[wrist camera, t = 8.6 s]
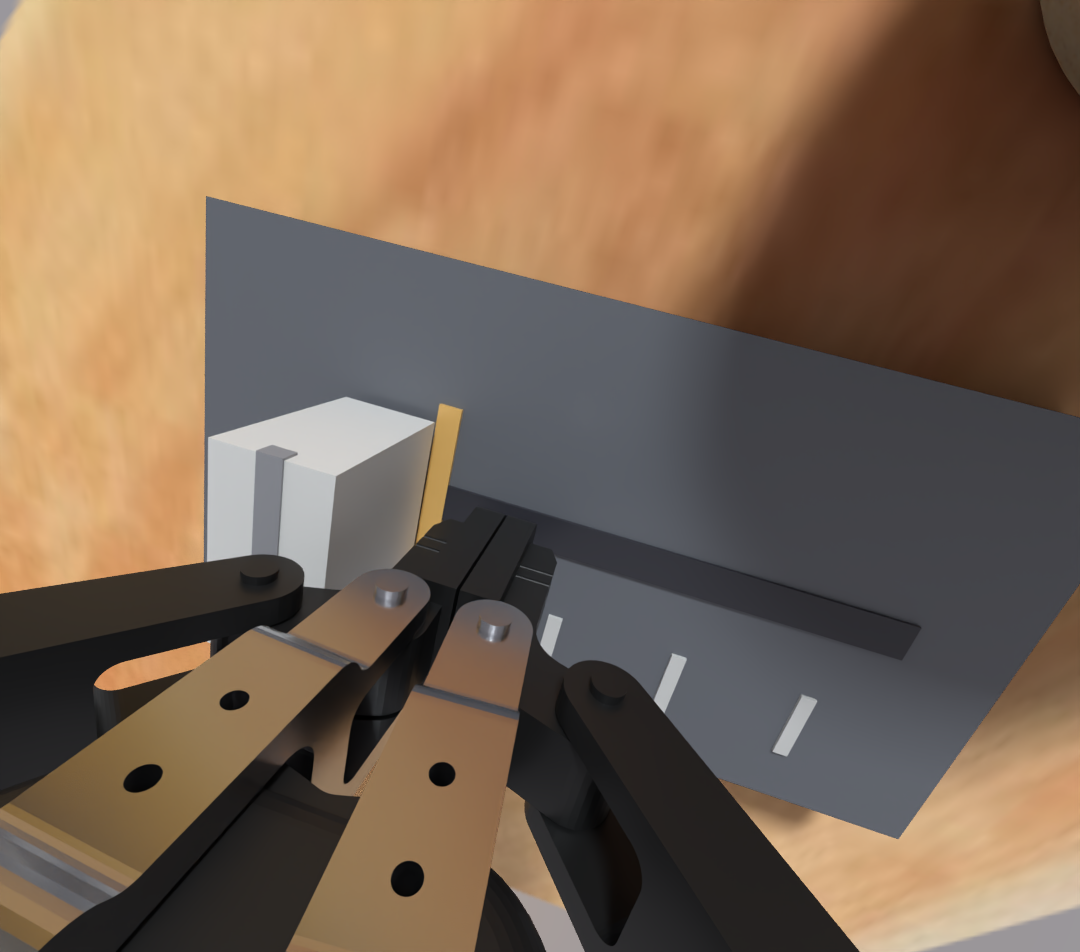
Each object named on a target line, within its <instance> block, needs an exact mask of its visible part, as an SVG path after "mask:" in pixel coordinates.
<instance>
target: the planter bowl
mask: <svg viewBox="0 0 1080 952" xmlns="http://www.w3.org/2000/svg"><path fill="white" fill-rule="evenodd" d="M1040 5H1041V10H1042V15H1043V20H1044V25H1045V29H1046V32H1047V36H1048V39H1049V43H1050V46H1051V48H1052V50H1053V52H1054V54H1055V56H1056V58H1057V60H1058V62H1059V64H1060V66H1061V69H1062V71H1063V72H1064V74H1065V75H1066V77H1067V78H1068V80H1069V81H1070V83H1071V84H1072V86H1073V87H1074V88H1075V90H1076V91H1077V92H1078V94H1079V95H1080V0H1040Z"/></svg>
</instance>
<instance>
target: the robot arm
mask: <svg viewBox="0 0 1080 952" xmlns="http://www.w3.org/2000/svg"><path fill="white" fill-rule="evenodd" d="M536 528H537V524H535V523H532V522H529V521H526V520H522V519H519V518H516V517H512V516H509V515H508V516H506V515H505V514H502V513H499V512H495V511H492V510H489V509H485V508H482V507H479V506H477V507H476V508H475V509H474V510H473V511H472V513H471V514H470V515H469V516H468V518H467V519H466V520H465V521H464V522H459V521H456V520H453V519H448V520H446V521H443V522H440V523H437V524H435V525H433V526H432V527H431V528H430V529H429V530H428V531H427V533H426V534H425V535H424V537H422V538H421V539H420V540H419V541H418V542H417V543H416V546H415V545H414V546H413V547H412V548H411V549H410V550H409V551H408V552H407V553H406V554H405V555H404V557H403V558H402V559H401V560H400V561H399V562H398V563H397V564H396V565H395V566H394V567H393V568H392V569H378V570H372V571H369V572H366V573H364V574H362V575H360V576H359V577H357V578H356V579H355V580H353V581H352V582H351V583H350V584H348V585H347V586H346V587H345V588H343V589H342V590H335V589H324V588H314V587H304V577H305V575H304V571H303V568H302V567H301V566H300V565H299V564H298V563H296V562H295V561H293V560H291V559H288V558H286V557H282V556H277V555H268V554H257V555H248V556H241V557H235V558H229V559H222V560H216V561H209V562H203V563H196V564H190V565H183V566H177V567H171V568H164V569H158V570H151V571H145V572H138V573H132V574H125V575H119V576H112V577H106V578H100V579H93V580H87V581H80V582H74V583H67V584H61V585H54V586H48V587H42V588H35V589H29V590H22V591H16V592H9V593H3V594H0V952H546V950H545V948H544V945H543V943H542V940H541V938H540V936H539V934H538V932H537V930H536V928H535V926H534V924H533V922H532V920H531V918H530V916H529V914H528V913H527V912H526V910H525V908H524V907H523V905H522V904H521V902H520V900H519V899H518V897H517V896H516V895H515V894H514V892H513V891H512V890H511V889H510V887H509V886H508V885H507V884H506V883H505V881H504V880H503V879H502V878H501V877H500V876H499V875H498V874H497V873H496V872H495V871H494V870H493V869H492V868H491V862H492V857H493V852H494V846H495V841H496V836H497V831H498V825H499V820H500V815H501V810H502V805H503V799H504V794H505V789H506V786H507V787H509V788H510V789H511V790H512V791H514V792H515V793H516V794H518V795H519V796H520V797H522V798H523V799H524V800H525V816H526V820H527V823H528V825H529V828H530V830H531V832H532V834H533V837H534V839H535V841H536V843H537V846H538V848H539V850H540V852H541V854H542V857H543V859H544V861H545V863H546V866H547V868H548V870H549V872H550V875H551V877H552V879H553V881H554V884H555V886H556V888H557V890H558V893H559V895H560V897H561V899H562V901H563V904H564V906H565V908H566V910H567V913H568V915H569V917H570V919H571V922H572V924H573V926H574V928H575V930H576V933H577V935H578V937H579V940H580V942H581V944H582V946H583V948H584V951H585V952H859V950H858V949H857V948H856V947H855V945H854V944H853V943H852V942H851V941H850V939H849V938H848V937H847V936H846V934H845V933H844V932H843V931H842V930H841V928H840V927H839V926H838V925H837V923H836V922H835V921H834V920H833V919H832V917H831V916H830V915H829V914H828V912H827V911H826V910H825V909H824V908H823V906H822V905H821V904H820V903H819V901H818V900H817V899H816V898H815V897H814V895H813V894H812V893H811V892H810V891H809V889H808V888H807V887H806V886H805V884H804V883H803V882H802V881H801V880H800V878H799V877H798V876H797V875H796V873H795V872H794V871H793V870H792V869H791V867H790V866H789V865H788V864H787V862H786V861H785V860H784V859H783V858H782V856H781V855H780V854H779V853H778V851H777V850H776V849H775V848H774V847H773V845H772V844H771V843H770V842H769V840H768V839H767V838H766V837H765V836H764V834H763V833H762V832H761V831H760V829H759V828H758V827H757V826H756V825H755V823H754V822H753V821H752V820H751V819H750V817H749V816H748V815H747V814H746V812H745V811H744V810H743V809H742V808H741V806H740V805H739V804H738V803H737V801H736V800H735V799H734V798H733V797H732V795H731V794H730V793H729V792H728V790H727V789H726V788H725V787H724V786H723V784H722V783H721V782H720V781H719V779H718V778H717V777H716V776H715V775H714V773H713V772H712V771H711V770H710V768H709V767H708V766H707V765H706V764H705V762H704V761H703V760H702V759H701V757H700V756H699V755H698V754H697V753H696V751H695V750H694V749H693V748H692V747H691V745H690V744H689V743H688V742H687V740H686V739H685V738H684V737H683V736H682V734H681V733H680V732H679V731H678V729H677V728H676V727H675V726H674V725H673V723H672V722H671V721H670V720H669V718H668V717H667V716H666V715H665V714H664V712H663V711H662V710H661V709H660V707H659V706H658V705H657V704H656V703H655V701H654V700H653V699H652V698H651V696H650V695H649V694H648V693H647V692H646V690H645V689H644V688H643V687H642V685H641V684H640V683H639V682H638V681H637V680H636V679H635V678H634V677H633V676H632V675H630V674H629V673H628V672H626V671H625V670H623V669H621V668H619V667H618V666H615V665H613V664H610V663H607V662H603V661H597V660H586V661H581V662H578V663H576V664H574V665H572V666H571V667H570V668H567V667H565V666H564V665H562V664H560V663H559V662H557V661H556V660H554V659H553V658H552V657H551V656H550V655H548V654H547V652H546V651H545V650H544V649H543V648H542V646H541V645H540V643H539V641H538V639H537V635H536V633H537V630H538V627H539V624H540V620H541V617H542V614H543V610H544V607H545V603H546V600H547V596H548V593H549V589H550V586H551V582H552V579H553V575H554V572H555V568H556V565H557V561H556V558H555V556H554V554H553V551H552V549H549V548H545V547H542V546H539V545H535V544H533V540H534V537H535V533H536ZM210 640H211V646H210V659H208V660H207V661H205V662H204V663H203V664H201V665H200V666H198V667H197V668H196V669H193V670H190V671H186V672H182V673H179V674H175V675H171V676H168V677H164V678H161V679H157V680H153V681H150V682H146V683H142V684H139V685H135V686H131V687H128V688H124V689H120V690H113V691H107V690H102V689H99V688H97V687H96V686H94V683H95V681H96V680H97V678H98V677H99V676H100V675H101V674H102V673H103V672H104V671H106V670H107V669H109V668H110V667H112V666H114V665H116V664H119V663H121V662H125V661H128V660H132V659H137V658H141V657H145V656H149V655H153V654H157V653H161V652H165V651H169V650H173V649H177V648H181V647H185V646H190V645H194V644H198V643H202V642H206V641H210ZM377 760H378V762H377ZM376 762H377V764H376V766H375V768H374V770H373V772H372V774H371V776H370V778H369V780H368V782H367V784H366V786H365V789H364V791H363V793H362V795H361V797H355V796H353V795H354V794H355V792H356V791H357V790H358V788H359V787H360V785H361V784H362V782H363V781H364V779H365V778H366V776H367V775H368V774H369V772H370V771H371V769H372V768H373V766H374V765H375V763H376Z"/></svg>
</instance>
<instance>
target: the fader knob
mask: <svg viewBox="0 0 1080 952" xmlns="http://www.w3.org/2000/svg"><path fill="white" fill-rule="evenodd" d="M434 424H435V422H432V421H429V420H425V419H422V418H418V417H415V416H411V415H408V414H404V413H401V412H397V411H394V410H390V409H387V408H383V407H380V406H377V405H373V404H370V403H366V402H363V401H359V400H356V399H352V398H349V397H344V398H340V399H337V400H334V401H330V402H327V403H323V404H320V405H316V406H313V407H310V408H306V409H303V410H299V411H296V412H293V413H289V414H286V415H282V416H279V417H276V418H272V419H269V420H265V421H262V422H259V423H255V424H252V425H248V426H245V427H242V428H238V429H235V430H231V431H228V432H225V433H221V434H218V435H214V436H211V437H208V512H207V562H209V561H216V560H222V559H229V558H235V557H241V556H248V555H257V554H268V555H277V556H282V557H286V558H288V559H291V560H293V561H295V562H296V563H298V564H299V565H300V566H301V567H302V568H303V571H304V575H305V577H304V587H314V588H324V589H335V590H342V589H343V588H345V587H346V586H347V585H348V584H350V583H351V582H352V581H353V580H355V579H356V578H357V577H359V576H360V575H362V574H364V573H366V572H369V571H372V570H378V569H392V568H393V567H394V566H395V565H396V564H397V563H398V562H399V561H400V560H401V559H402V558H403V557H404V555H405V554H406V553H407V552H408V551H409V550H410V549H411V548H412V547H413V546H414V542H415V536H416V530H417V525H418V519H419V513H420V507H421V501H422V495H423V489H424V483H425V477H426V471H427V466H428V460H429V454H430V448H431V442H432V436H433V430H434ZM206 642H209V643H211V640H210V641H206Z"/></svg>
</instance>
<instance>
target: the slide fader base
mask: <svg viewBox="0 0 1080 952" xmlns="http://www.w3.org/2000/svg"><path fill="white" fill-rule="evenodd" d="M344 397H349V398H352V399H356V400H359V401H363V402H366V403H370V404H373V405H377V406H380V407H383V408H387V409H390V410H394V411H397V412H401V413H404V414H408V415H411V416H415V417H418V418H422V419H425V420H429V421H432V422H435V424H434V430H433V436H432V442H431V448H430V454H429V460H428V466H427V471H426V477H425V483H424V489H423V495H422V501H421V507H420V513H419V519H418V525H417V530H416V536H415V542H414V545H415V546H416V543H417V542H418V541H419V540H420V539H421V538H422V537H424V535H425V534H426V533H427V531H428V530H429V529H430V528H431V527H432V526H433V525H435V524H437V523H440V522H443V521H446V520H448V519H453V520H456V521H459V522H464V521H465V520H466V519H467V518H468V516H469V515H470V514H471V513H472V511H473V510H474V509H475V508H476V507H477V506H479V507H482V508H485V509H489V510H492V511H495V512H499V513H502V514H505V515H506V516H508V515H509V516H512V517H516V518H519V519H522V520H526V521H529V522H532V523H535V524H537V528H536V533H535V537H534V540H533V544H535V545H539V546H542V547H545V548H549V549H552V551H553V554H554V556H555V558H556V561H557V565H556V568H555V572H554V575H553V579H552V582H551V586H550V589H549V593H548V596H547V600H546V603H545V607H544V610H543V614H542V617H541V620H540V624H539V627H538V630H537V633H536V635H537V639H538V641H539V643H540V645H541V646H542V648H543V649H544V650H545V651H546V652H547V654H548V655H550V656H551V657H552V658H553V659H554V660H556V661H557V662H559V663H560V664H562V665H564V666H565V667H567V668H570V667H571V666H572V665H574V664H576V663H578V662H581V661H586V660H597V661H603V662H607V663H610V664H613V665H615V666H618V667H619V668H621V669H623V670H625V671H626V672H628V673H629V674H630V675H632V676H633V677H634V678H635V679H636V680H637V681H638V682H639V683H640V684H641V685H642V687H643V688H644V689H645V690H646V692H647V693H648V694H649V695H650V696H651V698H652V699H653V700H654V701H655V703H656V704H657V705H658V706H659V707H660V709H661V710H662V711H663V712H664V714H665V715H666V716H667V717H668V718H669V720H670V721H671V722H672V723H673V725H674V726H675V727H676V728H677V729H678V731H679V732H680V733H681V734H682V736H683V737H684V738H685V739H686V740H687V742H688V743H689V744H690V745H691V747H692V748H693V749H694V750H695V751H696V753H697V754H698V755H699V756H700V757H701V759H702V760H703V761H704V762H705V764H706V765H707V766H708V767H709V768H710V770H711V771H712V772H713V773H714V775H715V776H716V777H717V778H720V779H723V780H725V781H728V782H731V783H734V784H737V785H740V786H743V787H746V788H749V789H752V790H755V791H758V792H761V793H764V794H767V795H770V796H773V797H775V798H778V799H781V800H784V801H787V802H790V803H793V804H796V805H799V806H802V807H805V808H808V809H811V810H814V811H817V812H820V813H823V814H826V815H828V816H831V817H834V818H837V819H840V820H843V821H846V822H849V823H852V824H855V825H858V826H861V827H864V828H867V829H870V830H873V831H876V832H878V833H881V834H884V835H887V836H890V837H893V838H896V839H899V837H900V836H901V835H902V833H903V832H904V830H905V829H906V828H907V826H908V825H909V823H910V822H911V820H912V819H913V818H914V816H915V815H916V813H917V812H918V811H919V809H920V808H921V806H922V805H923V804H924V802H925V801H926V799H927V798H928V797H929V795H930V794H931V792H932V791H933V790H934V788H935V787H936V785H937V784H938V783H939V781H940V780H941V778H942V777H943V775H944V774H945V773H946V771H947V770H948V768H949V767H950V766H951V764H952V763H953V761H954V760H955V759H956V757H957V756H958V754H959V753H960V752H961V750H962V749H963V747H964V746H965V745H966V743H967V742H968V740H969V739H970V738H971V736H972V735H973V733H974V732H975V730H976V729H977V728H978V726H979V725H980V723H981V722H982V721H983V719H984V718H985V716H986V715H987V714H988V712H989V711H990V709H991V708H992V707H993V705H994V704H995V702H996V701H997V700H998V698H999V697H1000V695H1001V694H1002V693H1003V691H1004V690H1005V688H1006V687H1007V685H1008V684H1009V683H1010V681H1011V680H1012V678H1013V677H1014V676H1015V674H1016V673H1017V671H1018V670H1019V669H1020V667H1021V666H1022V664H1023V663H1024V662H1025V660H1026V659H1027V657H1028V656H1029V655H1030V653H1031V652H1032V650H1033V649H1034V648H1035V646H1036V645H1037V643H1038V642H1039V640H1040V639H1041V638H1042V636H1043V635H1044V633H1045V632H1046V631H1047V629H1048V628H1049V626H1050V625H1051V624H1052V622H1053V621H1054V619H1055V618H1056V617H1057V615H1058V614H1059V612H1060V611H1061V610H1062V608H1063V607H1064V605H1065V604H1066V603H1067V601H1068V600H1069V598H1070V597H1071V595H1072V594H1073V593H1074V591H1075V590H1076V588H1077V587H1078V586H1079V584H1080V418H1079V417H1075V416H1071V415H1067V414H1064V413H1060V412H1056V411H1052V410H1048V409H1044V408H1040V407H1036V406H1032V405H1028V404H1024V403H1020V402H1016V401H1012V400H1008V399H1004V398H1000V397H996V396H993V395H989V394H985V393H981V392H977V391H973V390H969V389H965V388H961V387H957V386H953V385H949V384H945V383H941V382H937V381H933V380H929V379H925V378H922V377H918V376H914V375H910V374H906V373H902V372H898V371H894V370H890V369H886V368H882V367H878V366H874V365H870V364H866V363H862V362H858V361H854V360H851V359H847V358H843V357H839V356H835V355H831V354H827V353H823V352H819V351H815V350H811V349H807V348H803V347H799V346H795V345H791V344H787V343H783V342H779V341H776V340H772V339H768V338H764V337H760V336H756V335H752V334H748V333H744V332H740V331H736V330H732V329H728V328H724V327H720V326H716V325H712V324H708V323H705V322H701V321H697V320H693V319H689V318H685V317H681V316H677V315H673V314H669V313H665V312H661V311H657V310H653V309H649V308H645V307H641V306H637V305H634V304H630V303H626V302H622V301H618V300H614V299H610V298H606V297H602V296H598V295H594V294H590V293H586V292H582V291H578V290H574V289H570V288H566V287H562V286H559V285H555V284H551V283H547V282H543V281H539V280H535V279H531V278H527V277H523V276H519V275H515V274H511V273H507V272H503V271H499V270H495V269H491V268H488V267H484V266H480V265H476V264H472V263H468V262H464V261H460V260H456V259H452V258H448V257H444V256H440V255H436V254H432V253H428V252H424V251H420V250H417V249H413V248H409V247H405V246H401V245H397V244H393V243H389V242H385V241H381V240H377V239H373V238H369V237H365V236H361V235H357V234H353V233H349V232H345V231H342V230H338V229H334V228H330V227H326V226H322V225H318V224H314V223H310V222H306V221H302V220H298V219H294V218H290V217H286V216H282V215H278V214H274V213H271V212H267V211H263V210H259V209H255V208H251V207H247V206H243V205H239V204H235V203H231V202H227V201H223V200H219V199H215V198H211V197H207V196H206V298H205V471H204V562H207V512H208V437H211V436H214V435H218V434H221V433H225V432H228V431H231V430H235V429H238V428H242V427H245V426H248V425H252V424H255V423H259V422H262V421H265V420H269V419H272V418H276V417H279V416H282V415H286V414H289V413H293V412H296V411H299V410H303V409H306V408H310V407H313V406H316V405H320V404H323V403H327V402H330V401H334V400H337V399H340V398H344Z"/></svg>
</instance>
